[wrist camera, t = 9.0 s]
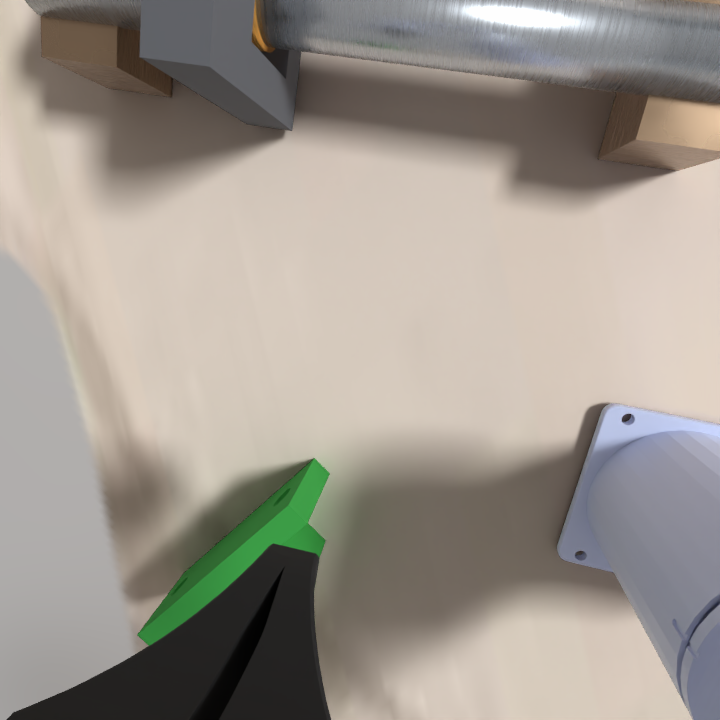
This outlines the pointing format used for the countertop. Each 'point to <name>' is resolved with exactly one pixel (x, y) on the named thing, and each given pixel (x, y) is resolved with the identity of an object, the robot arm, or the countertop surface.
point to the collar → (221, 58)
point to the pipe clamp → (244, 550)
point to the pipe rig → (467, 53)
